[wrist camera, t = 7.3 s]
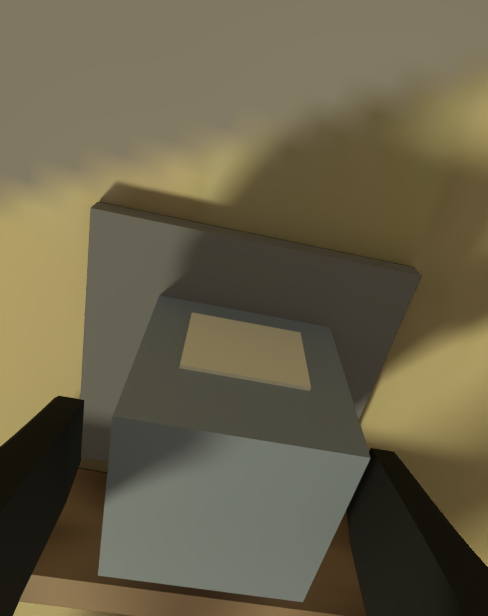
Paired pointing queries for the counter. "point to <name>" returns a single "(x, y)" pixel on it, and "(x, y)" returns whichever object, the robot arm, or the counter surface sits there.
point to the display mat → (224, 298)
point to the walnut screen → (161, 597)
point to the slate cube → (230, 453)
